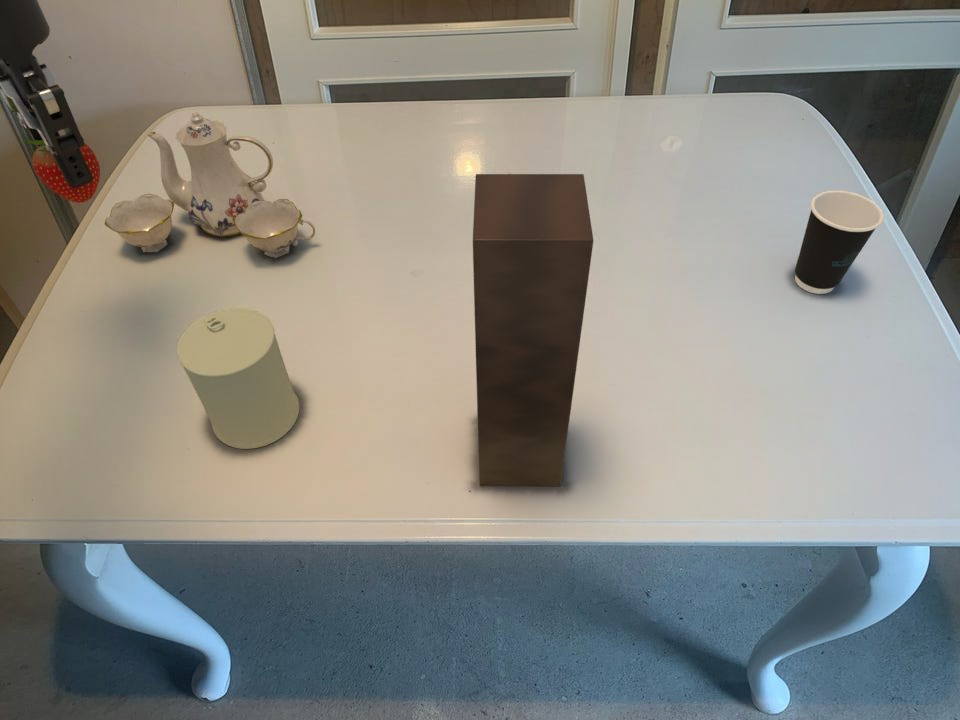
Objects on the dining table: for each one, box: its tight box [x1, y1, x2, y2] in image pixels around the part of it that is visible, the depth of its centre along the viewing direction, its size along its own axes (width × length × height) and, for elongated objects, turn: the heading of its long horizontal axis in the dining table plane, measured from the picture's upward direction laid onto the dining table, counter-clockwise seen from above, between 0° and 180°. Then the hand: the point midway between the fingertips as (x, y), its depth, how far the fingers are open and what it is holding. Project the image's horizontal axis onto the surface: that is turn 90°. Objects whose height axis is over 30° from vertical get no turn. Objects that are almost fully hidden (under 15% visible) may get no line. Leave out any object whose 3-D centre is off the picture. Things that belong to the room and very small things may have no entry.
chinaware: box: [104, 111, 316, 259], centre depth 90 cm, size 28×17×17 cm, turn 91°
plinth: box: [472, 173, 594, 487], centre depth 59 cm, size 8×8×30 cm
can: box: [176, 307, 300, 450], centre depth 69 cm, size 9×9×12 cm
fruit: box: [22, 135, 101, 204], centre depth 66 cm, size 5×5×8 cm
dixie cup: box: [794, 189, 885, 295], centre depth 83 cm, size 8×8×11 cm
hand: (69, 171), depth 66 cm, fingers closed on fruit, 5 cm apart
